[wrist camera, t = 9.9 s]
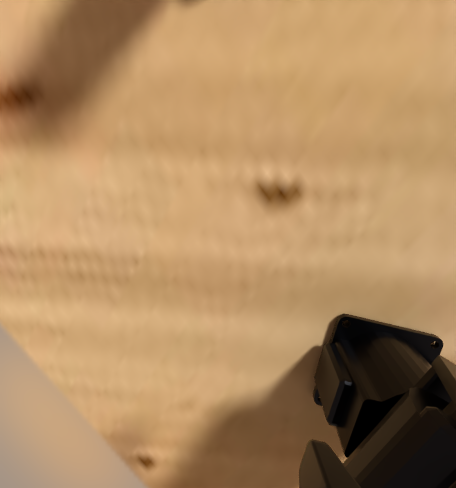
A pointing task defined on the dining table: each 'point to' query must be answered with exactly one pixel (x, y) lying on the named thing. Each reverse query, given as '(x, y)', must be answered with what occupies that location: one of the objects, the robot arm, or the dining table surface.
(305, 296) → the dining table surface
